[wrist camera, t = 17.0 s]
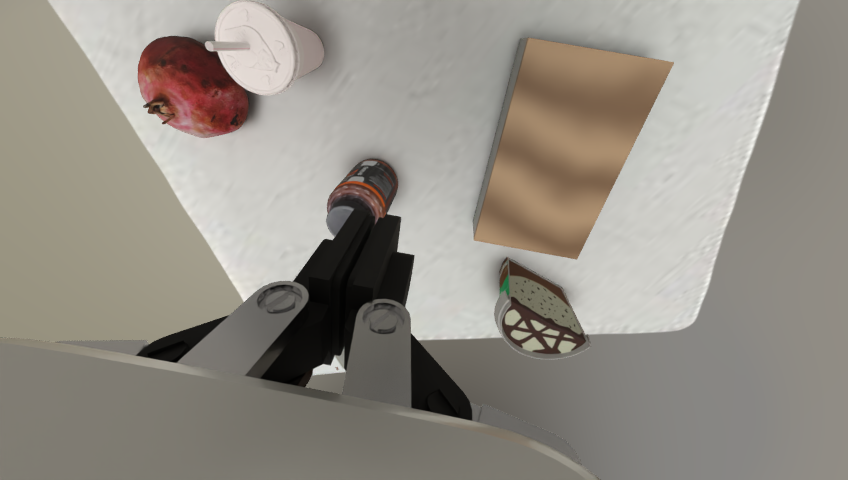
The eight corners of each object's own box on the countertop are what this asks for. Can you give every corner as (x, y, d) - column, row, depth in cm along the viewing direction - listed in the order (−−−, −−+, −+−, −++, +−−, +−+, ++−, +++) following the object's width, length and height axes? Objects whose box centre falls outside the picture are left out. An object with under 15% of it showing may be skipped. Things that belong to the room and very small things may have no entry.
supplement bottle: (360, 148, 38) (325, 184, 28) (406, 170, 38) (387, 212, 29) (345, 190, 41) (309, 235, 31) (388, 210, 42) (365, 260, 32)
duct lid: (527, 38, 27) (528, 37, 26) (669, 62, 27) (674, 62, 26) (473, 236, 38) (473, 240, 37) (574, 255, 37) (576, 259, 37)
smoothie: (290, -5, 31) (179, -37, 19) (348, 40, 32) (279, 38, 20) (267, 58, 34) (160, 65, 22) (321, 97, 35) (248, 123, 23)
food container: (472, 281, 46) (474, 334, 38) (498, 251, 43) (506, 302, 34) (541, 317, 48) (557, 375, 40) (570, 291, 45) (594, 348, 37)
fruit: (216, 16, 32) (128, 6, 24) (279, 105, 36) (223, 123, 28) (162, 66, 35) (67, 72, 27) (226, 143, 39) (160, 170, 31)
